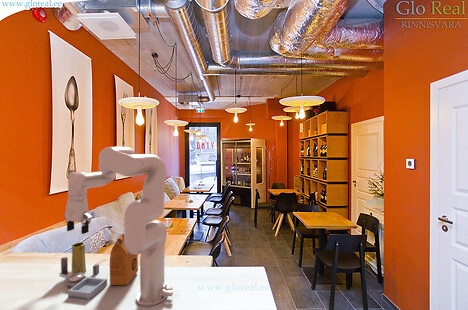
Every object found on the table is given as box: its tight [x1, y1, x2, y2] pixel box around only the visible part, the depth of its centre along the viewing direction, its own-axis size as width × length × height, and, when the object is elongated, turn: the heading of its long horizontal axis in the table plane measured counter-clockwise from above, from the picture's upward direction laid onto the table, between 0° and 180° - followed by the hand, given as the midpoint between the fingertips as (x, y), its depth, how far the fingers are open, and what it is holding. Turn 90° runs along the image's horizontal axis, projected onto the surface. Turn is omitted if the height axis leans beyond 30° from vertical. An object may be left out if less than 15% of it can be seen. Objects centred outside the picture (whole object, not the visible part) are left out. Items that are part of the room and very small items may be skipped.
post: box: [92, 263, 100, 275], centre depth 110 cm, size 2×2×4 cm
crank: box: [59, 256, 85, 283], centre depth 102 cm, size 12×6×8 cm, turn 72°
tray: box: [67, 276, 108, 301], centre depth 96 cm, size 10×10×3 cm
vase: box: [71, 241, 87, 274], centre depth 110 cm, size 6×6×14 cm
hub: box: [66, 275, 87, 290], centre depth 101 cm, size 7×7×2 cm
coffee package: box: [109, 233, 139, 286], centre depth 105 cm, size 10×12×22 cm
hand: (77, 231), depth 110 cm, fingers open, 9 cm apart
